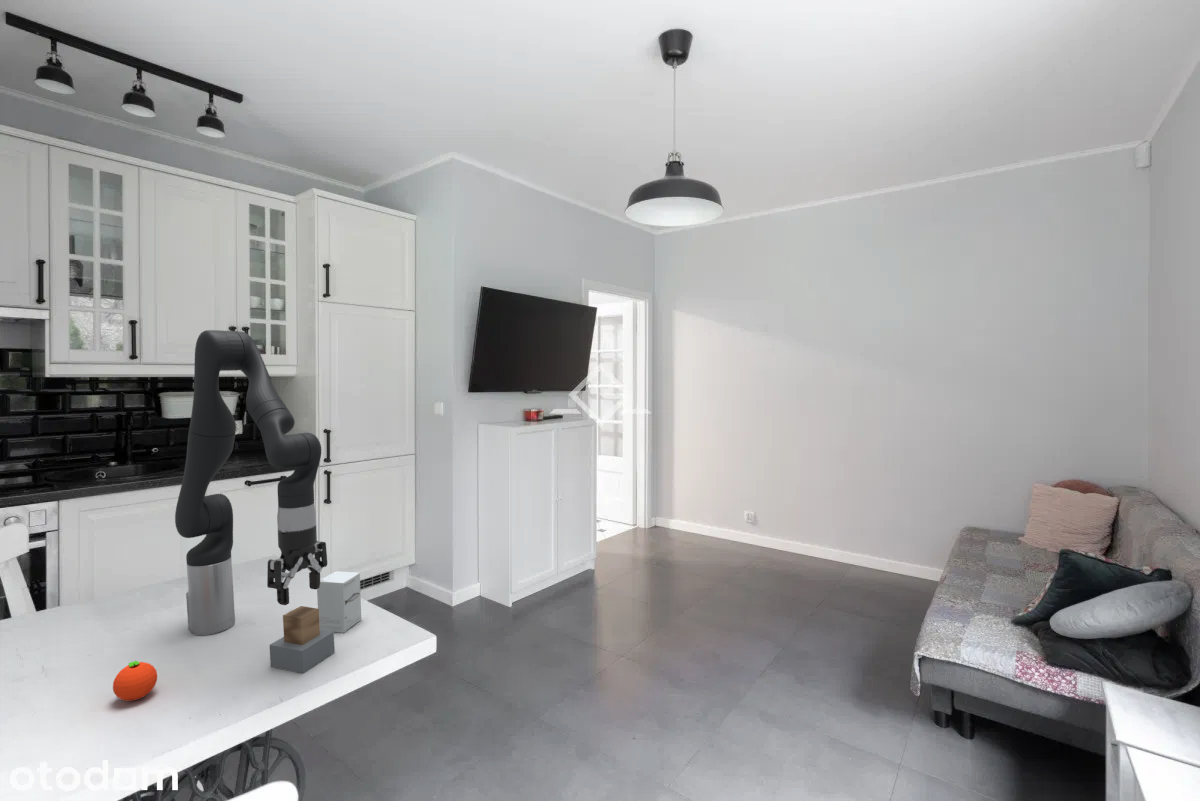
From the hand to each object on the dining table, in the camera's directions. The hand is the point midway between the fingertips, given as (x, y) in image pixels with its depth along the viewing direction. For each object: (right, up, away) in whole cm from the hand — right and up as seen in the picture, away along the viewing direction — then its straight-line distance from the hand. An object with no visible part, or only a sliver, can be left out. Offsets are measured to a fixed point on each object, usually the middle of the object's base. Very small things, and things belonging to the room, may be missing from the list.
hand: (299, 596), depth 128 cm
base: (0, -15, +1) cm, 15 cm away
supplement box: (+1, -14, +18) cm, 22 cm away
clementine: (-26, -16, -13) cm, 33 cm away
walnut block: (0, -10, +1) cm, 10 cm away
